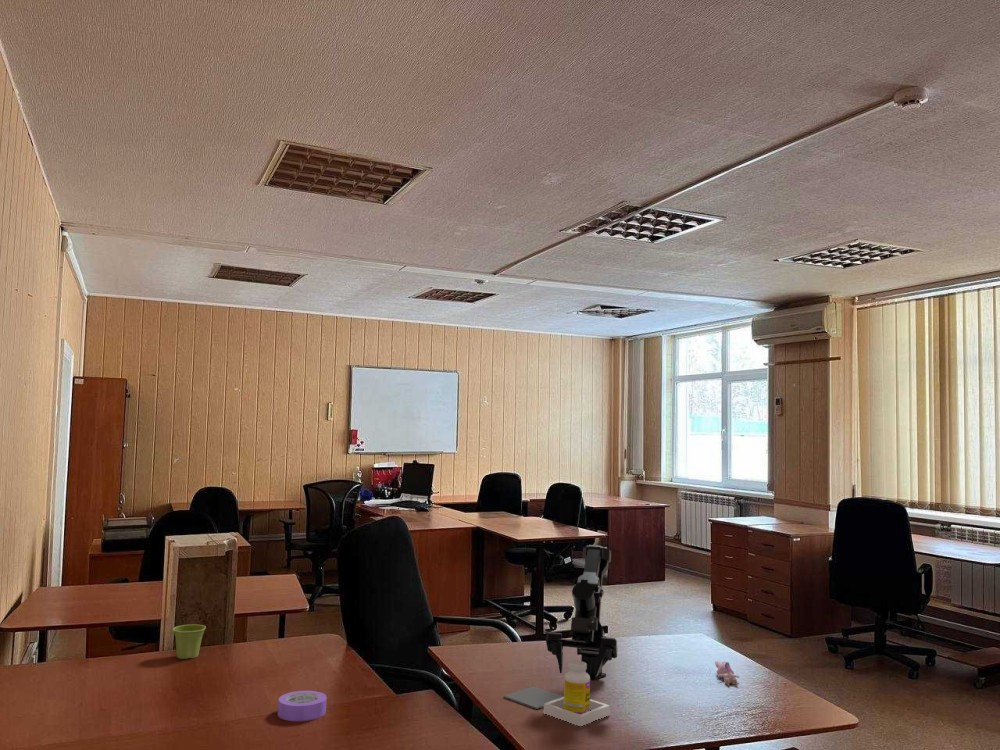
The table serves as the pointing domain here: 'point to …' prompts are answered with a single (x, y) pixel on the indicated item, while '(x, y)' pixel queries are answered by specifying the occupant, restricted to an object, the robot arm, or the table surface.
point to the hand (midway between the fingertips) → (578, 674)
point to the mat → (533, 697)
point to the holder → (596, 713)
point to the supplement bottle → (577, 688)
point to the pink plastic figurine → (726, 673)
